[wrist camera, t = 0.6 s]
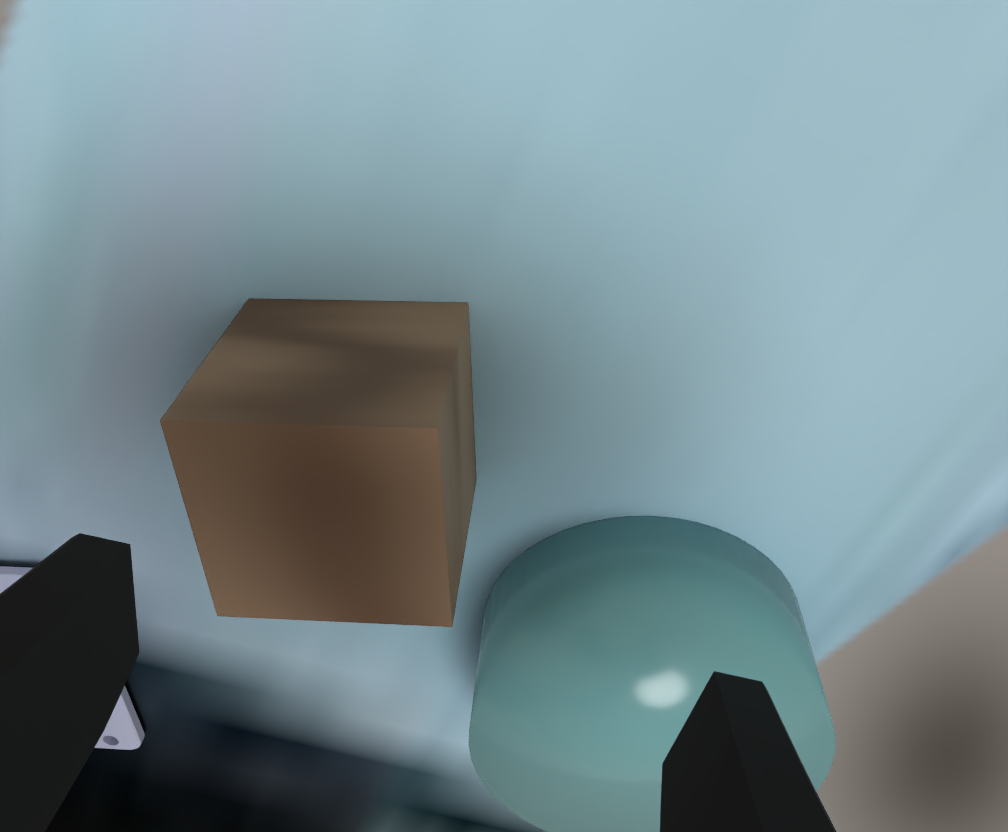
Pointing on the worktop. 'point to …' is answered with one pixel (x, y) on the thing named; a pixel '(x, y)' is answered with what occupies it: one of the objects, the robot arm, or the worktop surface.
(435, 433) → the walnut cube
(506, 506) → the worktop surface
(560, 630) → the teal puck
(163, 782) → the worktop surface
